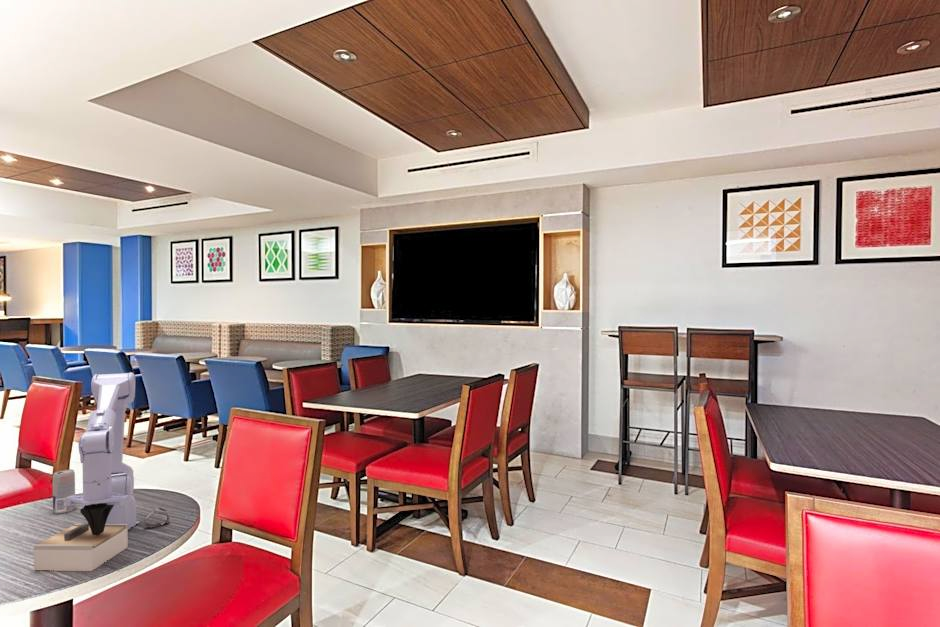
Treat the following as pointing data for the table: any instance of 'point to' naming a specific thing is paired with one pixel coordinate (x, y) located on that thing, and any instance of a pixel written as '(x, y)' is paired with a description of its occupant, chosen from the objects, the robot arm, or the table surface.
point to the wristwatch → (153, 513)
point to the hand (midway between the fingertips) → (98, 533)
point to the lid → (82, 536)
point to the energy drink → (63, 490)
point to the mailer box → (79, 553)
